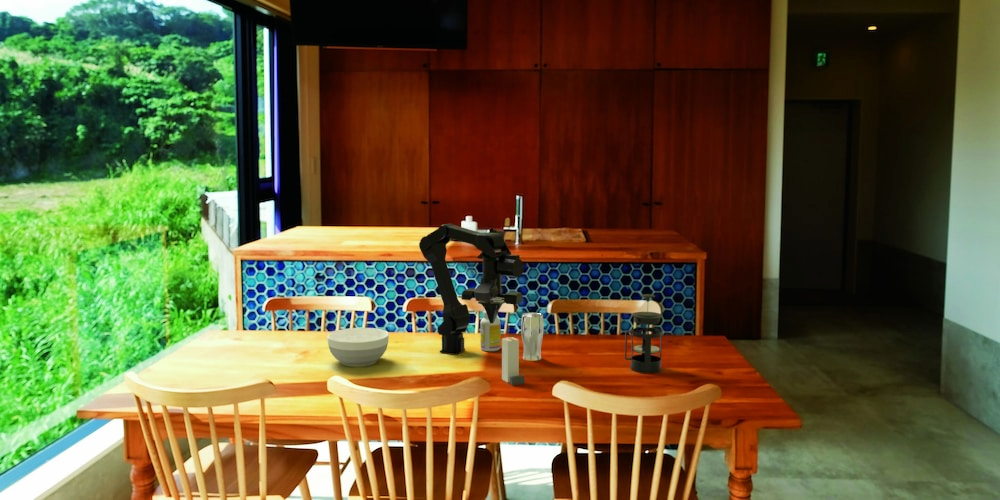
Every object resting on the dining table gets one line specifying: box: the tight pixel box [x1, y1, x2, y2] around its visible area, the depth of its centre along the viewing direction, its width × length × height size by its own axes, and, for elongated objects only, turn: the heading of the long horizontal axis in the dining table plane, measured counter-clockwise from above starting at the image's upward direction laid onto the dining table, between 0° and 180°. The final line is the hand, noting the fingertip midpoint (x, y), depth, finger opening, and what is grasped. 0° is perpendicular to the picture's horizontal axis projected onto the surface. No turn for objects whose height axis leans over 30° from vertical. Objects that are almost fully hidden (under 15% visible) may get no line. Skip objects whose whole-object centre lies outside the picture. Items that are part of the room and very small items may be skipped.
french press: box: [624, 293, 663, 374], centre depth 252 cm, size 12×9×23 cm
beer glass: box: [520, 312, 544, 362], centre depth 260 cm, size 7×7×15 cm
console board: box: [509, 374, 525, 387], centre depth 241 cm, size 20×14×3 cm
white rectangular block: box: [501, 336, 520, 383], centre depth 237 cm, size 4×4×12 cm
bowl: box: [326, 327, 390, 368], centre depth 259 cm, size 19×19×9 cm
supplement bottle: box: [479, 310, 502, 352], centre depth 275 cm, size 7×7×13 cm
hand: (491, 323), depth 260 cm, fingers closed
